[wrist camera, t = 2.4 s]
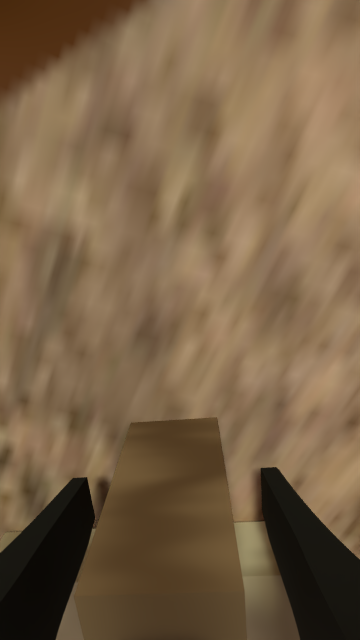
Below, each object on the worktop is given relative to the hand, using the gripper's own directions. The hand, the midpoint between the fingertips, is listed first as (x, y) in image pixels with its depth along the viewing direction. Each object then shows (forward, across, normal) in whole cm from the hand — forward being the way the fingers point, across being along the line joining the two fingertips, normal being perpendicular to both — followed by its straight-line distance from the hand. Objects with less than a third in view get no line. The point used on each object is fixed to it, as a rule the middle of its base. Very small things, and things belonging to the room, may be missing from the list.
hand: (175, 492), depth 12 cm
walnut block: (+2, 0, 0) cm, 2 cm away
